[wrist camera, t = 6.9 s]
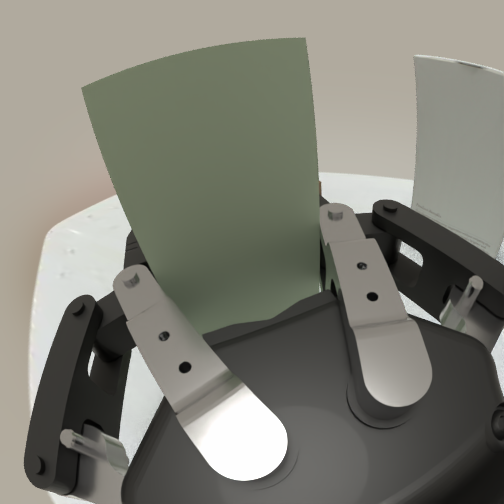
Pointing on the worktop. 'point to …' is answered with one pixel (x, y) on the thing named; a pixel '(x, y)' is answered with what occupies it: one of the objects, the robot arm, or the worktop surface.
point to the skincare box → (460, 149)
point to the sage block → (218, 175)
